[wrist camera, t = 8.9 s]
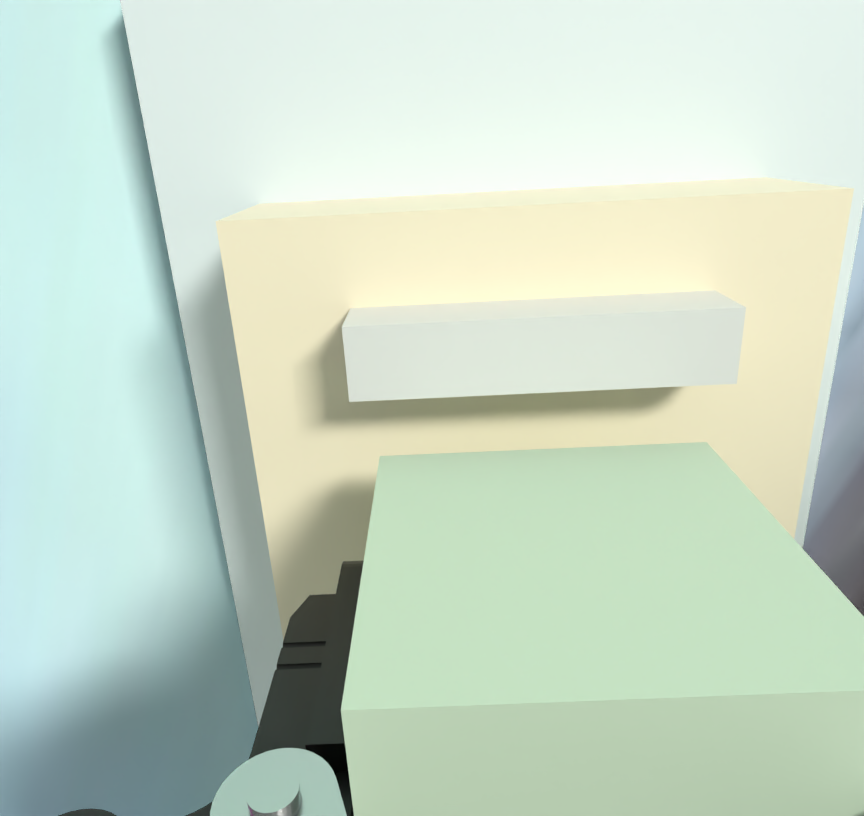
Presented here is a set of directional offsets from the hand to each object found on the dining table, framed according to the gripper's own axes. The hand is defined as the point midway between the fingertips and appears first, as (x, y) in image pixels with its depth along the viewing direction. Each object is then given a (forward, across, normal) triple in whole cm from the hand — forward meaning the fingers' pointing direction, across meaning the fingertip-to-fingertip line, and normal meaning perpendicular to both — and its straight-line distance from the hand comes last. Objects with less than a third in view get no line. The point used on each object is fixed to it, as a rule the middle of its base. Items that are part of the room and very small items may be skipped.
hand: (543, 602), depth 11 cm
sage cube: (0, 0, 0) cm, 0 cm away
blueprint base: (+6, 0, 0) cm, 6 cm away
